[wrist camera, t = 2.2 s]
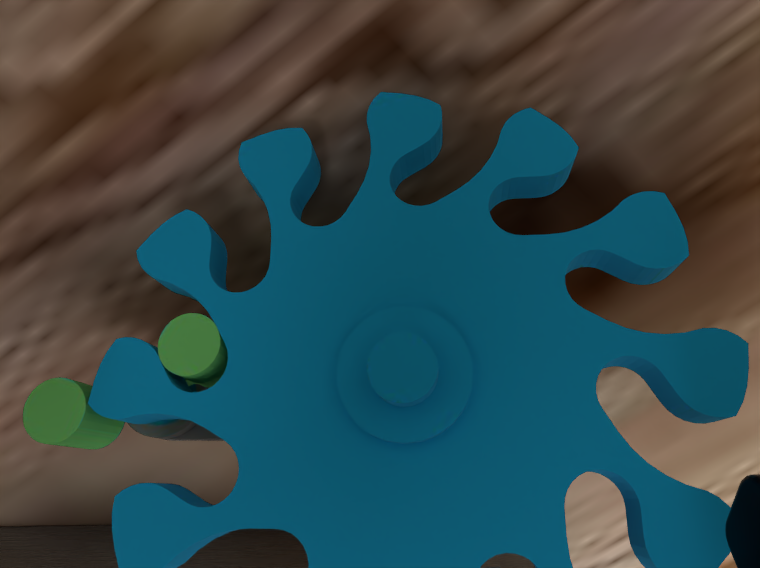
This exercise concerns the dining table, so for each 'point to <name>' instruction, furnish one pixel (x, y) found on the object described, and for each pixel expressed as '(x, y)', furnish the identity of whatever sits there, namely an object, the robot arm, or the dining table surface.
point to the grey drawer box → (209, 564)
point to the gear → (405, 368)
